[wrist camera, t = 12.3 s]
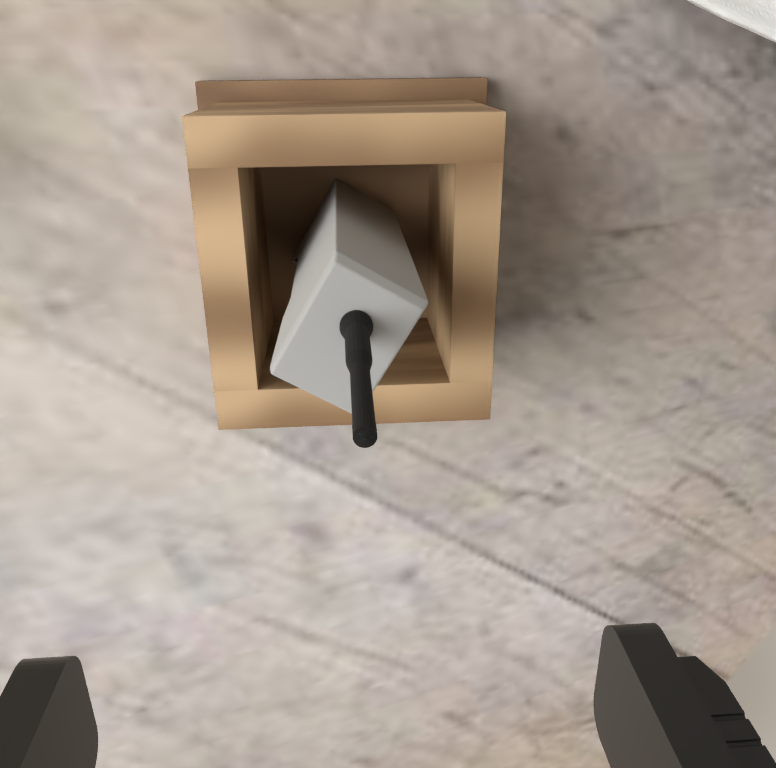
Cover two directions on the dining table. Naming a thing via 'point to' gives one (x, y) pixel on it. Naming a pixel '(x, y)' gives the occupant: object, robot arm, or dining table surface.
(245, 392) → the socket block
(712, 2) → the spoon rest
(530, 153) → the dining table surface
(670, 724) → the robot arm
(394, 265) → the vintage mobile phone
